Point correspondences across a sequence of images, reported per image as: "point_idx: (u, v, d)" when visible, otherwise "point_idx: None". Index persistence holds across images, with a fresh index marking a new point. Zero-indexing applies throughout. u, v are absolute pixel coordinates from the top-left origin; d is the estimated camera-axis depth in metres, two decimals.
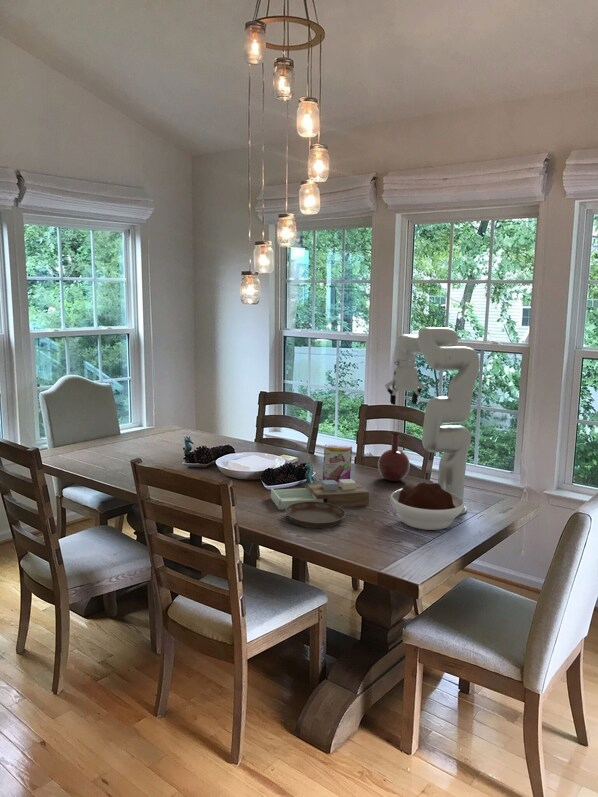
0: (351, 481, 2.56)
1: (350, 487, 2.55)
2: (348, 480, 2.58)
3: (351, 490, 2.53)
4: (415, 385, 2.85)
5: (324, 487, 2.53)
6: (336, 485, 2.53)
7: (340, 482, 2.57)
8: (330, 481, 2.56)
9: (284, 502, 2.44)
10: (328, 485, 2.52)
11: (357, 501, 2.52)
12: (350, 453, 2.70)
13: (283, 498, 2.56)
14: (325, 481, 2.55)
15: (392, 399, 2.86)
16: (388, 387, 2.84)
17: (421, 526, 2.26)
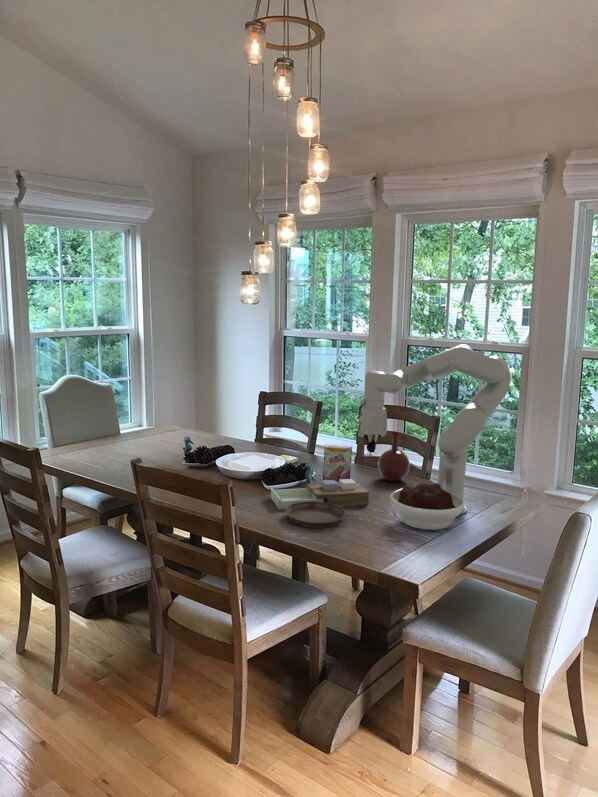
0: (351, 481, 2.56)
1: (350, 487, 2.55)
2: (348, 480, 2.58)
3: (351, 490, 2.53)
4: (384, 428, 2.54)
5: (324, 487, 2.53)
6: (336, 485, 2.53)
7: (340, 482, 2.57)
8: (330, 481, 2.56)
9: (284, 502, 2.44)
10: (328, 485, 2.52)
11: (357, 501, 2.52)
12: (350, 453, 2.70)
13: (283, 498, 2.56)
14: (325, 481, 2.55)
15: (369, 446, 2.56)
16: (362, 435, 2.55)
17: (421, 526, 2.26)
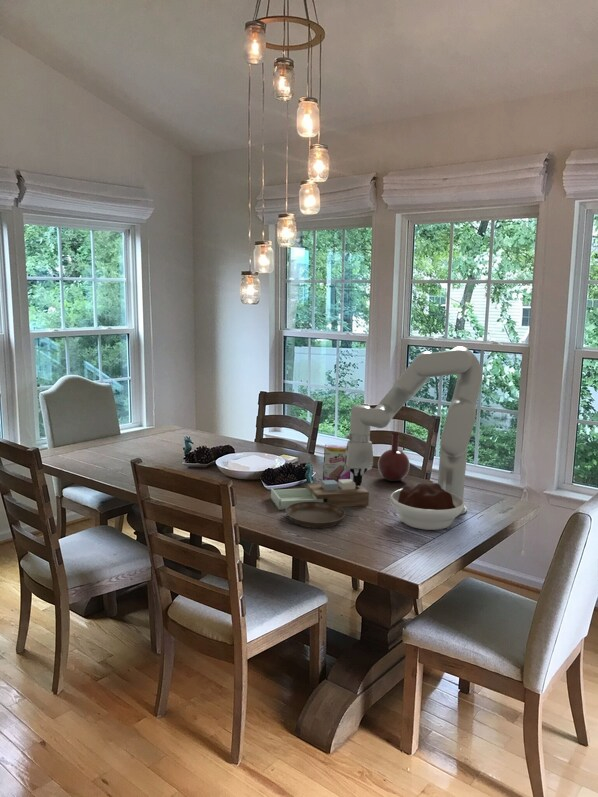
0: (350, 481, 2.56)
1: (349, 487, 2.55)
2: (347, 480, 2.58)
3: (351, 490, 2.53)
4: (370, 462, 2.55)
5: (324, 487, 2.53)
6: (336, 485, 2.53)
7: (339, 482, 2.57)
8: (330, 481, 2.56)
9: (284, 502, 2.44)
10: (328, 485, 2.52)
11: (357, 501, 2.52)
12: None
13: (283, 498, 2.56)
14: (325, 481, 2.55)
15: (355, 480, 2.57)
16: (348, 469, 2.55)
17: (421, 526, 2.26)
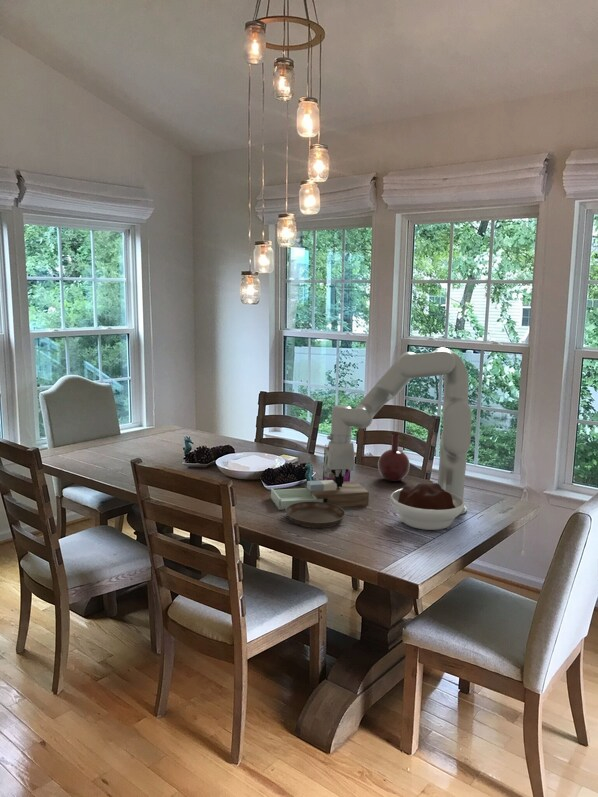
0: (332, 482, 2.54)
1: (330, 488, 2.53)
2: (329, 481, 2.55)
3: (351, 490, 2.53)
4: (351, 462, 2.53)
5: (309, 488, 2.52)
6: (321, 486, 2.51)
7: None
8: (315, 482, 2.54)
9: (284, 502, 2.44)
10: (313, 486, 2.51)
11: (357, 501, 2.52)
12: None
13: (283, 498, 2.56)
14: (310, 482, 2.54)
15: (336, 481, 2.55)
16: (330, 470, 2.53)
17: (421, 526, 2.26)
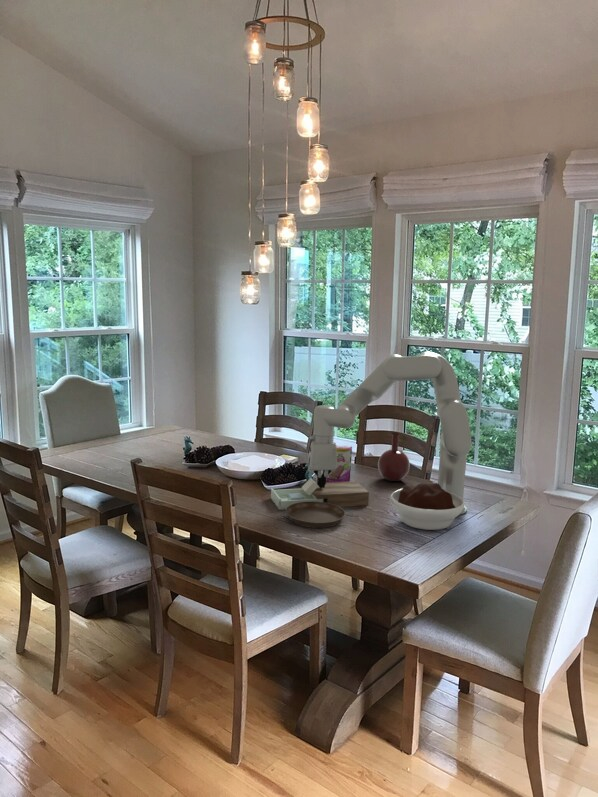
0: (310, 482, 2.52)
1: (313, 489, 2.51)
2: (308, 482, 2.53)
3: (351, 490, 2.53)
4: (334, 463, 2.51)
5: None
6: None
7: (303, 489, 2.54)
8: None
9: (284, 502, 2.44)
10: None
11: (357, 501, 2.52)
12: (350, 453, 2.70)
13: (283, 498, 2.56)
14: None
15: (319, 482, 2.53)
16: (312, 471, 2.52)
17: (421, 526, 2.26)
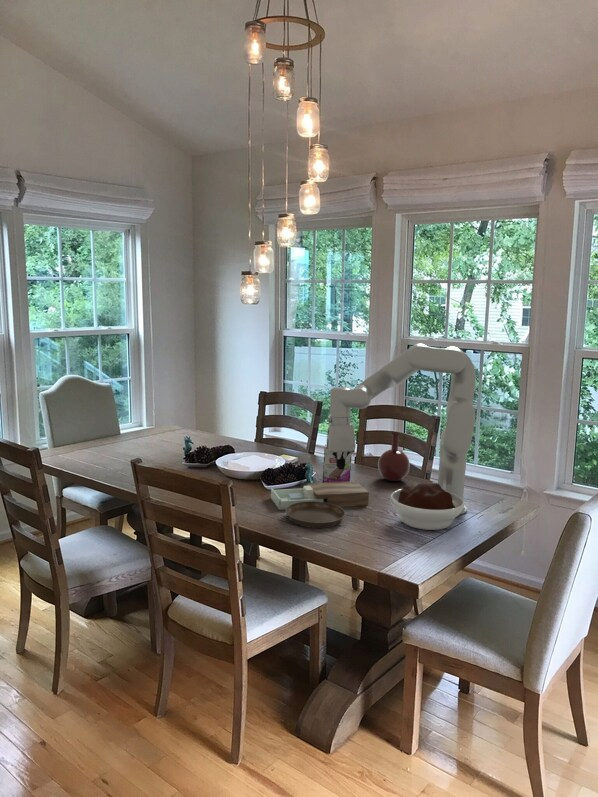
0: (305, 491, 2.52)
1: (311, 495, 2.51)
2: (304, 492, 2.54)
3: (351, 490, 2.53)
4: (352, 444, 2.51)
5: None
6: None
7: None
8: None
9: (284, 502, 2.44)
10: None
11: (357, 501, 2.52)
12: (350, 453, 2.70)
13: (283, 498, 2.56)
14: None
15: (338, 463, 2.53)
16: (331, 453, 2.52)
17: (421, 526, 2.26)
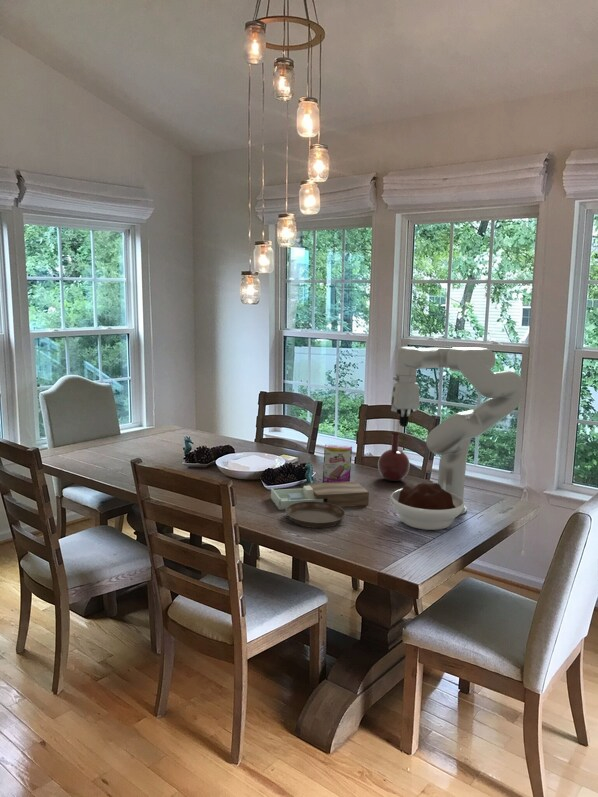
0: (305, 491, 2.52)
1: (311, 495, 2.51)
2: (304, 492, 2.54)
3: (351, 490, 2.53)
4: (416, 402, 2.61)
5: None
6: None
7: None
8: None
9: (284, 502, 2.44)
10: None
11: (357, 501, 2.52)
12: (350, 453, 2.70)
13: (283, 498, 2.56)
14: None
15: (401, 421, 2.63)
16: (395, 410, 2.62)
17: (421, 526, 2.26)
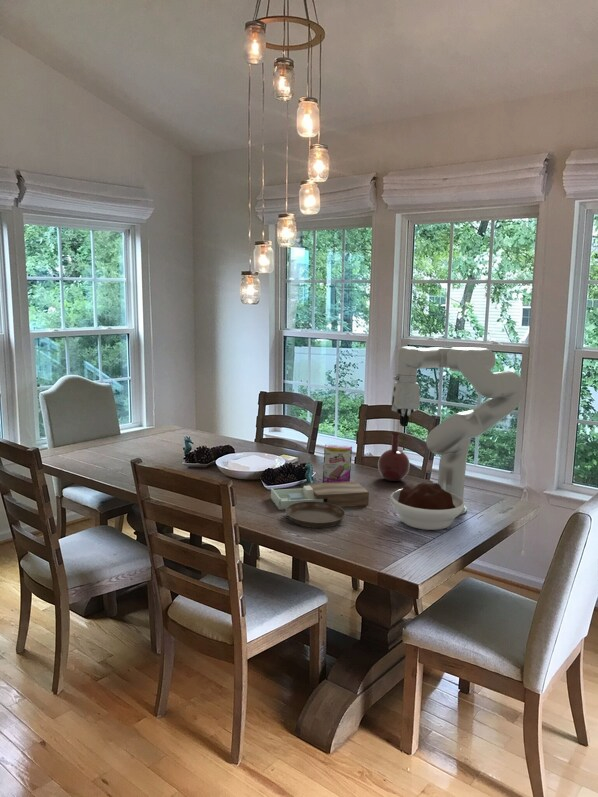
0: (305, 491, 2.52)
1: (311, 495, 2.51)
2: (304, 492, 2.54)
3: (351, 490, 2.53)
4: (417, 402, 2.61)
5: None
6: None
7: None
8: None
9: (284, 502, 2.44)
10: None
11: (357, 501, 2.52)
12: (350, 453, 2.70)
13: (283, 498, 2.56)
14: None
15: (402, 420, 2.63)
16: (396, 409, 2.62)
17: (421, 526, 2.26)
